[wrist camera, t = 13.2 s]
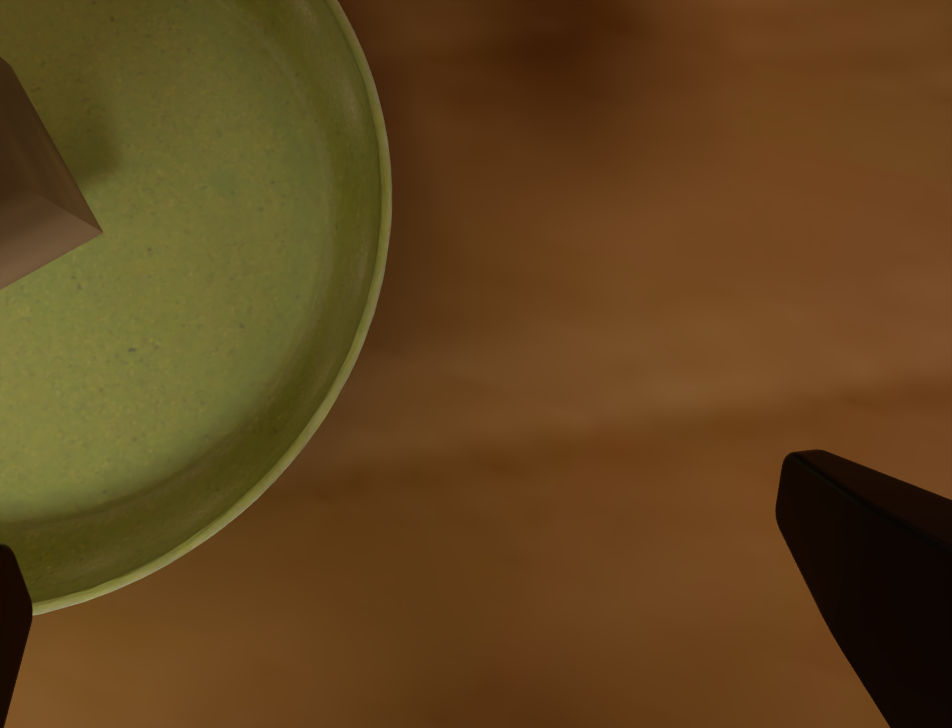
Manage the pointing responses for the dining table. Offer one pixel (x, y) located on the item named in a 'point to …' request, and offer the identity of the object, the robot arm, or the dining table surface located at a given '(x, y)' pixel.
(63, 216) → the tan wooden tall block
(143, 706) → the dining table surface
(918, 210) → the dining table surface
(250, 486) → the saucer
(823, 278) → the dining table surface
